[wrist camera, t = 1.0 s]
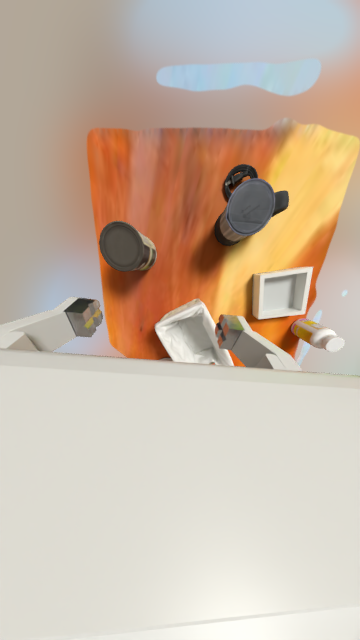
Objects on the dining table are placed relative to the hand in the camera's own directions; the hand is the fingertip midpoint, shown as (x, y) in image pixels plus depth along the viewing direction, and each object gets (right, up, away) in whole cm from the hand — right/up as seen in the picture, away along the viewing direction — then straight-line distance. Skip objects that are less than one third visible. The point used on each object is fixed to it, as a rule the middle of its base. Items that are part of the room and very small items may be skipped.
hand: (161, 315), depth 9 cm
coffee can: (-11, +21, +35) cm, 43 cm away
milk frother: (+16, +31, +30) cm, 46 cm away
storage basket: (+7, -4, +44) cm, 44 cm away
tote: (+33, +9, +37) cm, 50 cm away
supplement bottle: (+45, -3, +40) cm, 61 cm away
